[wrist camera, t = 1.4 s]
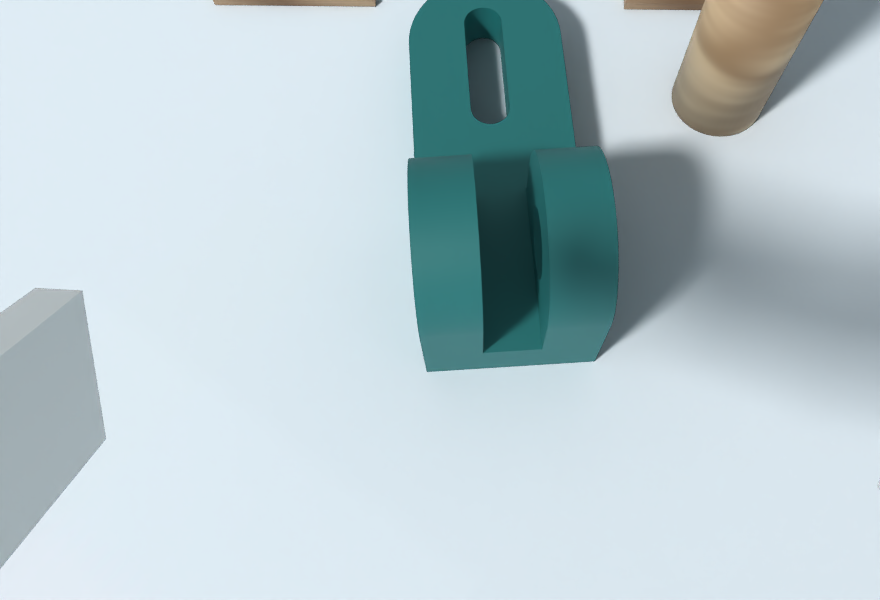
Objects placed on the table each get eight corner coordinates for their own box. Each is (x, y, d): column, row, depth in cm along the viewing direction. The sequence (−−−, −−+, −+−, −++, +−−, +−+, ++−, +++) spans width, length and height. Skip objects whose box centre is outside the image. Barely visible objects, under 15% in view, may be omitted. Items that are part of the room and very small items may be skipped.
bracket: (593, 362, 32) (627, 290, 25) (427, 373, 32) (412, 303, 25) (548, 7, 39) (565, -133, 32) (410, 17, 39) (394, -120, 32)
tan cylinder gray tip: (757, 62, 37) (864, -149, 27) (765, 137, 35) (881, -56, 25) (669, 61, 37) (741, -149, 27) (674, 135, 36) (752, -57, 25)
